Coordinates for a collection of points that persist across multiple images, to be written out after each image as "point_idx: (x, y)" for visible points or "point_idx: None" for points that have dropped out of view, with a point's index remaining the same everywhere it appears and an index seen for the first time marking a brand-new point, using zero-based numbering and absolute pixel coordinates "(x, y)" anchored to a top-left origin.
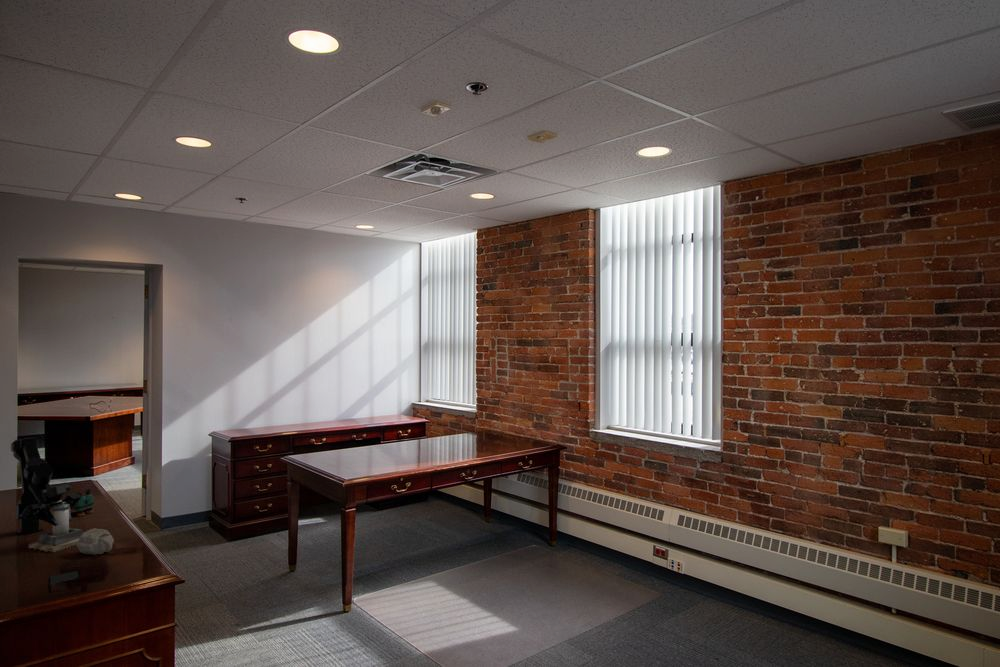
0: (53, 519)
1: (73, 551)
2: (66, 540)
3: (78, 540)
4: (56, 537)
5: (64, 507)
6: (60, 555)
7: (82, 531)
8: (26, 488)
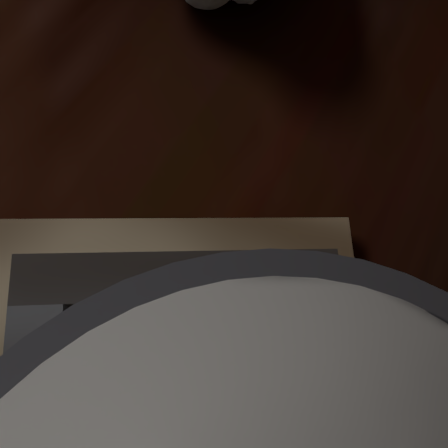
0: None
1: (253, 112)
2: None
3: (123, 223)
4: (328, 250)
5: (307, 266)
6: (341, 119)
7: (26, 257)
8: None
